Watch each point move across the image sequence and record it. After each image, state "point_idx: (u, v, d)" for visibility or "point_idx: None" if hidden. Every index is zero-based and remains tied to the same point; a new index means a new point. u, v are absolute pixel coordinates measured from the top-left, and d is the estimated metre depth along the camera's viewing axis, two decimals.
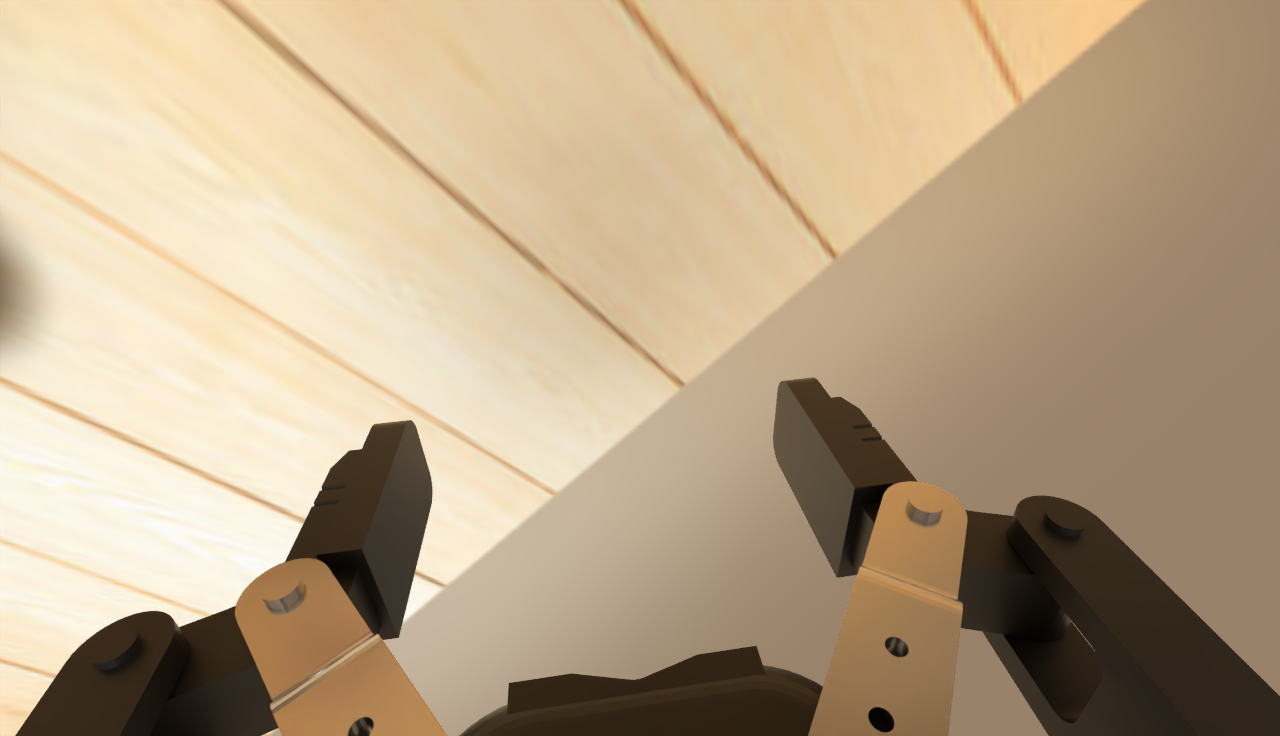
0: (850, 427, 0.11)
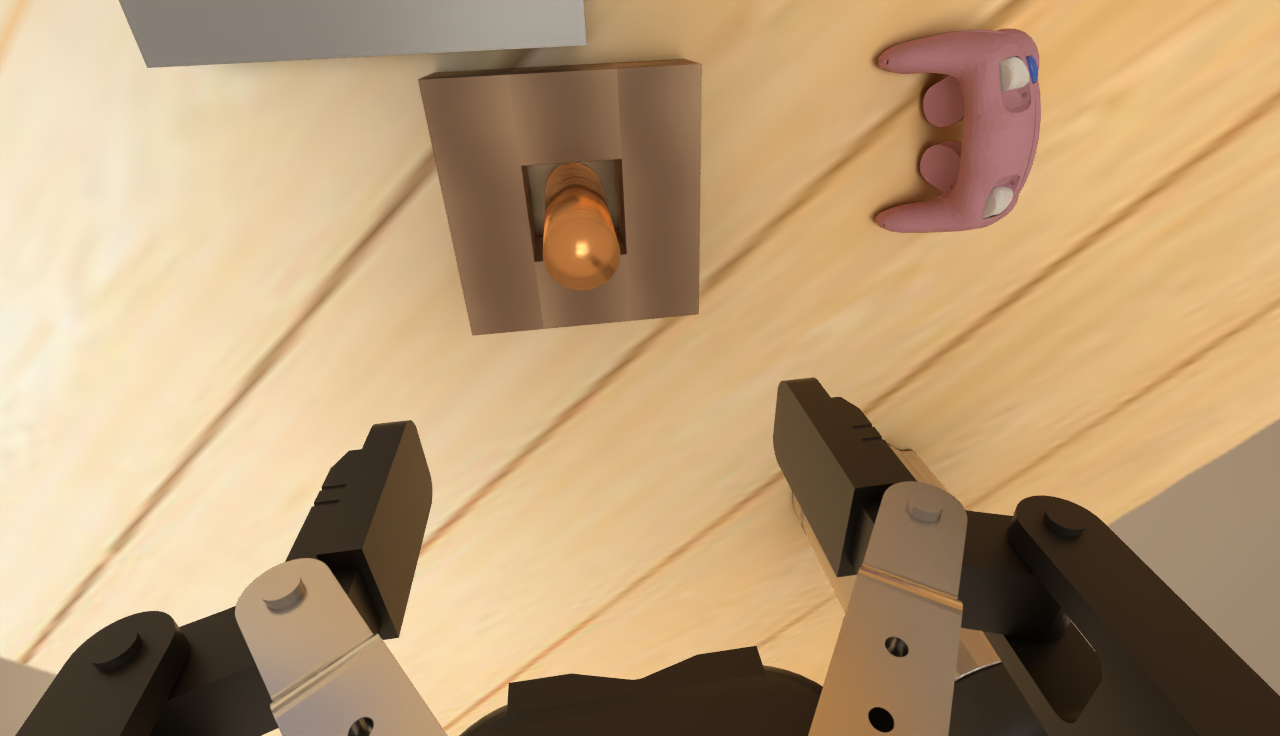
0: (850, 427, 0.11)
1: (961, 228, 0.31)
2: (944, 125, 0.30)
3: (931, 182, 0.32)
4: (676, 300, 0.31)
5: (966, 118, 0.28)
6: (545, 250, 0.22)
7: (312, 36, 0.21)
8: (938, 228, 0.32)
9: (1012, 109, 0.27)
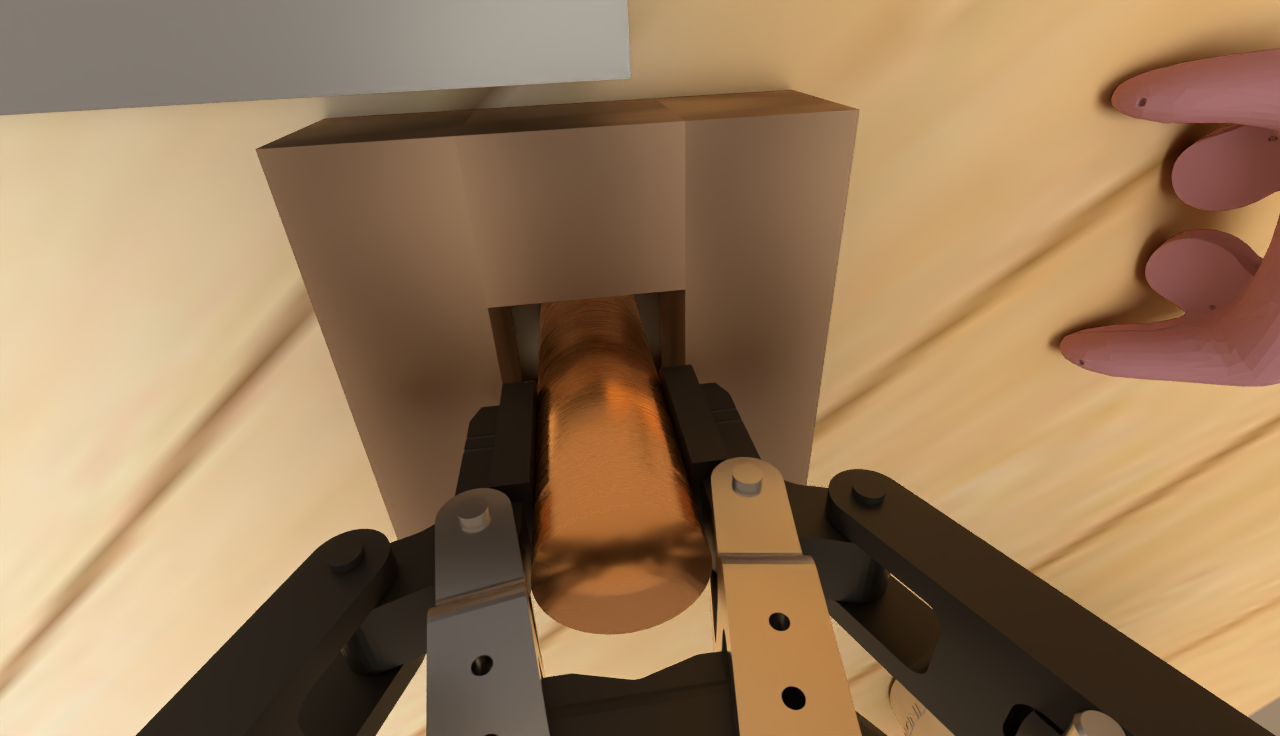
0: (707, 409, 0.12)
1: (1240, 385, 0.18)
2: (1215, 208, 0.17)
3: (1166, 295, 0.19)
4: None
5: None
6: (537, 575, 0.09)
7: None
8: (1190, 379, 0.19)
9: None
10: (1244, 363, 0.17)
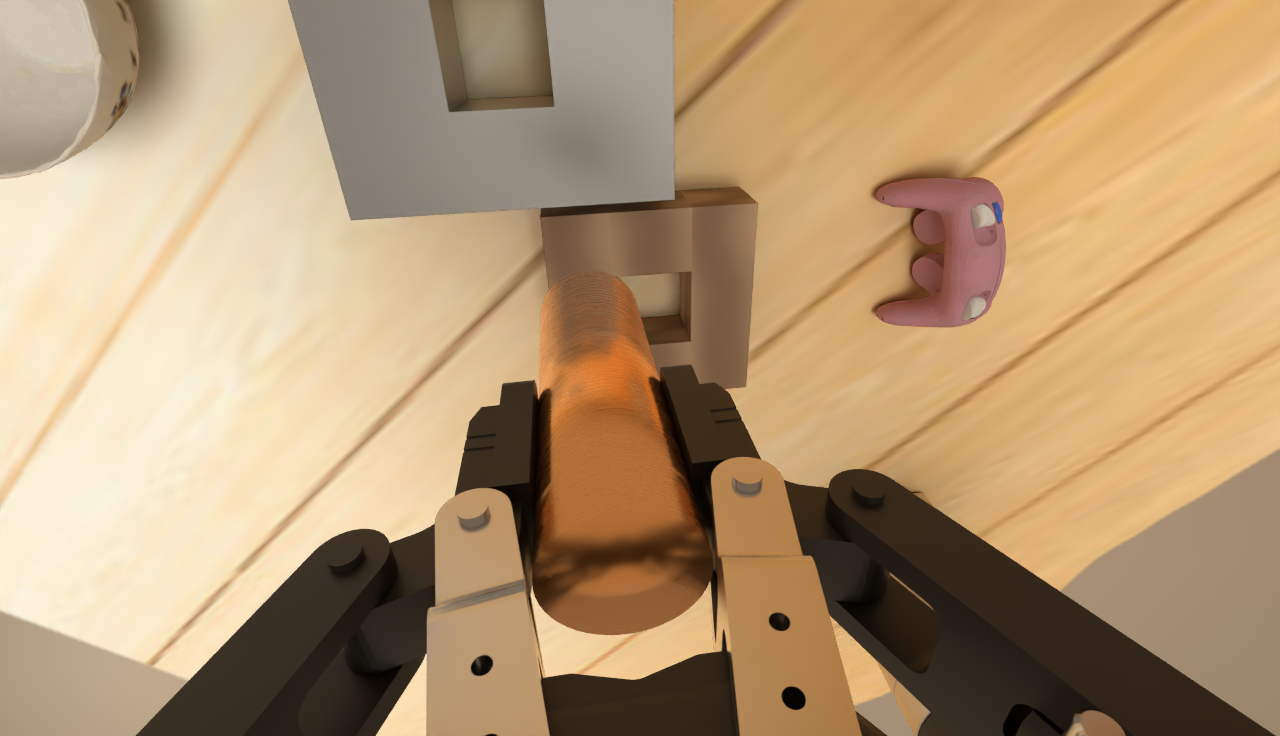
0: (707, 409, 0.12)
1: (945, 326, 0.38)
2: (930, 243, 0.37)
3: (921, 285, 0.39)
4: (728, 376, 0.38)
5: (947, 245, 0.35)
6: (538, 575, 0.09)
7: (472, 197, 0.29)
8: (927, 324, 0.38)
9: (982, 243, 0.34)
10: (943, 315, 0.37)
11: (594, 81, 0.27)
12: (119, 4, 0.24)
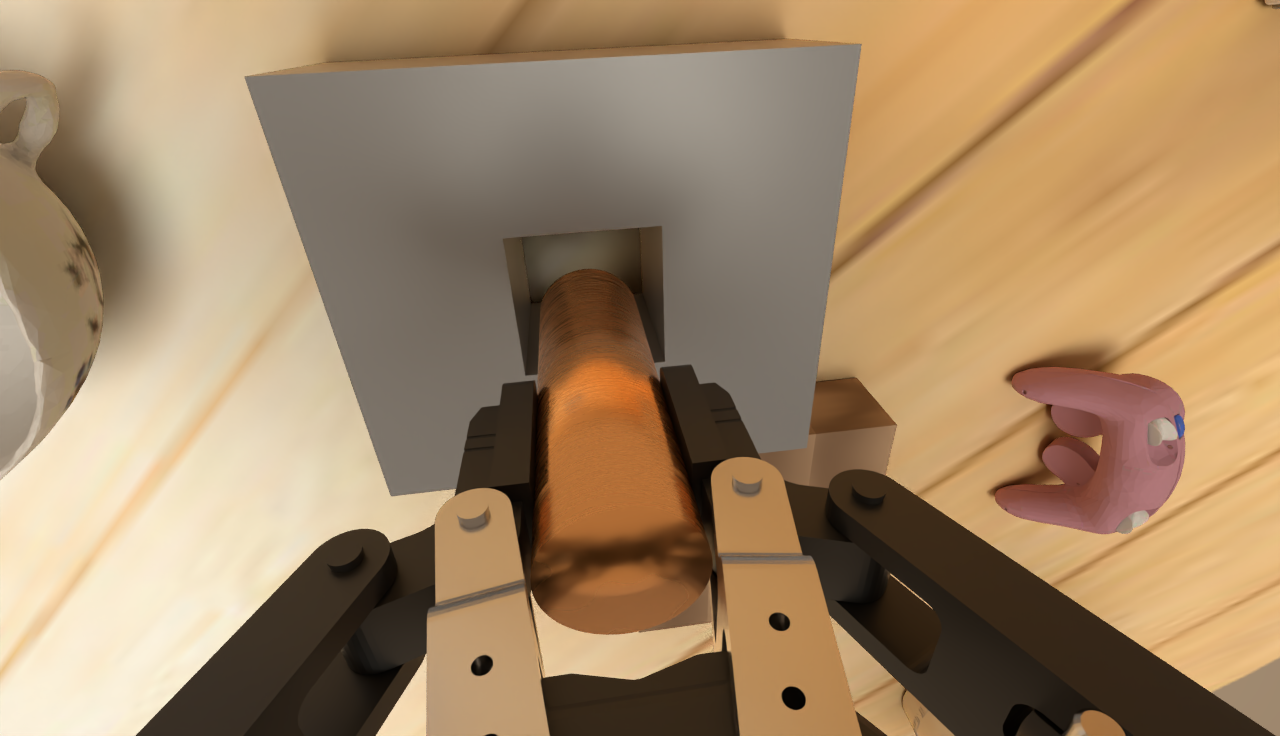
0: (707, 409, 0.12)
1: None
2: (1074, 434, 0.31)
3: (1054, 472, 0.33)
4: None
5: (1106, 453, 0.29)
6: (536, 575, 0.09)
7: None
8: (1065, 525, 0.32)
9: (1158, 461, 0.27)
10: (1090, 522, 0.31)
11: (720, 331, 0.20)
12: (70, 267, 0.17)
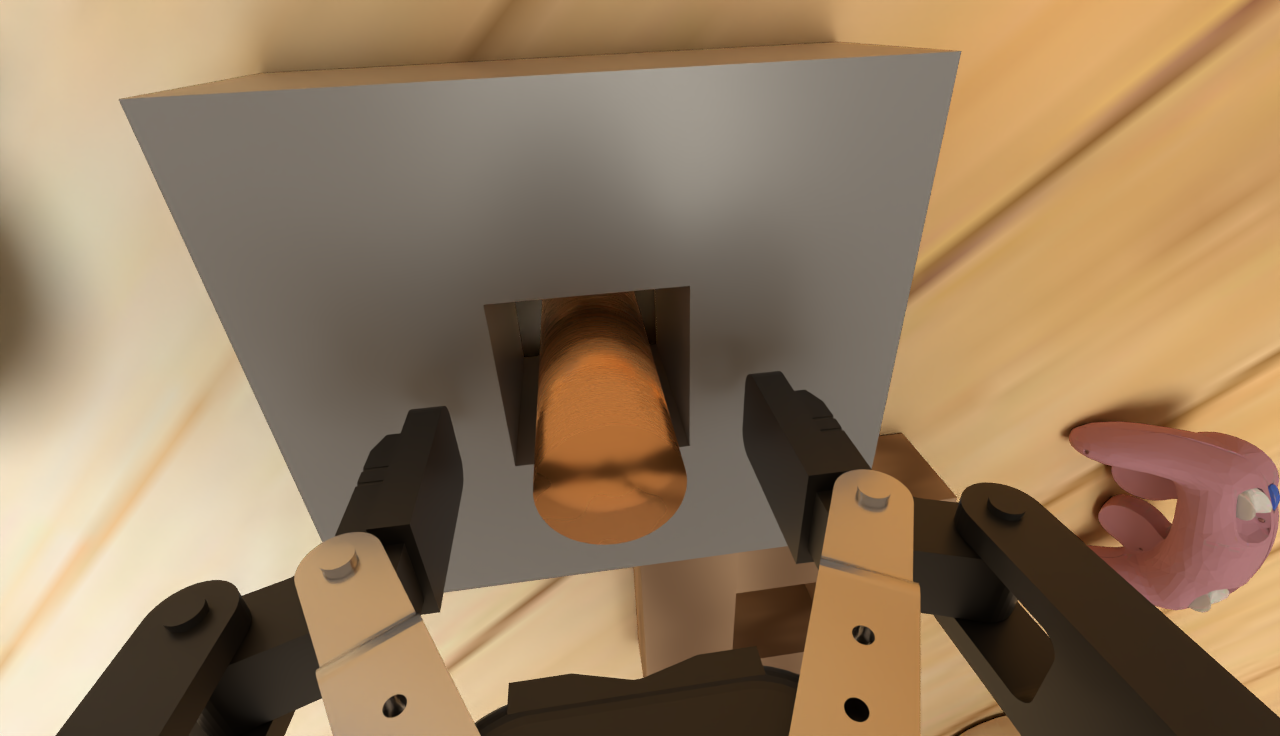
0: (810, 418, 0.11)
1: None
2: (1139, 496, 0.27)
3: (1112, 533, 0.29)
4: None
5: (1182, 523, 0.25)
6: (538, 486, 0.11)
7: (547, 562, 0.18)
8: None
9: (1247, 536, 0.23)
10: (1158, 596, 0.27)
11: None
12: None
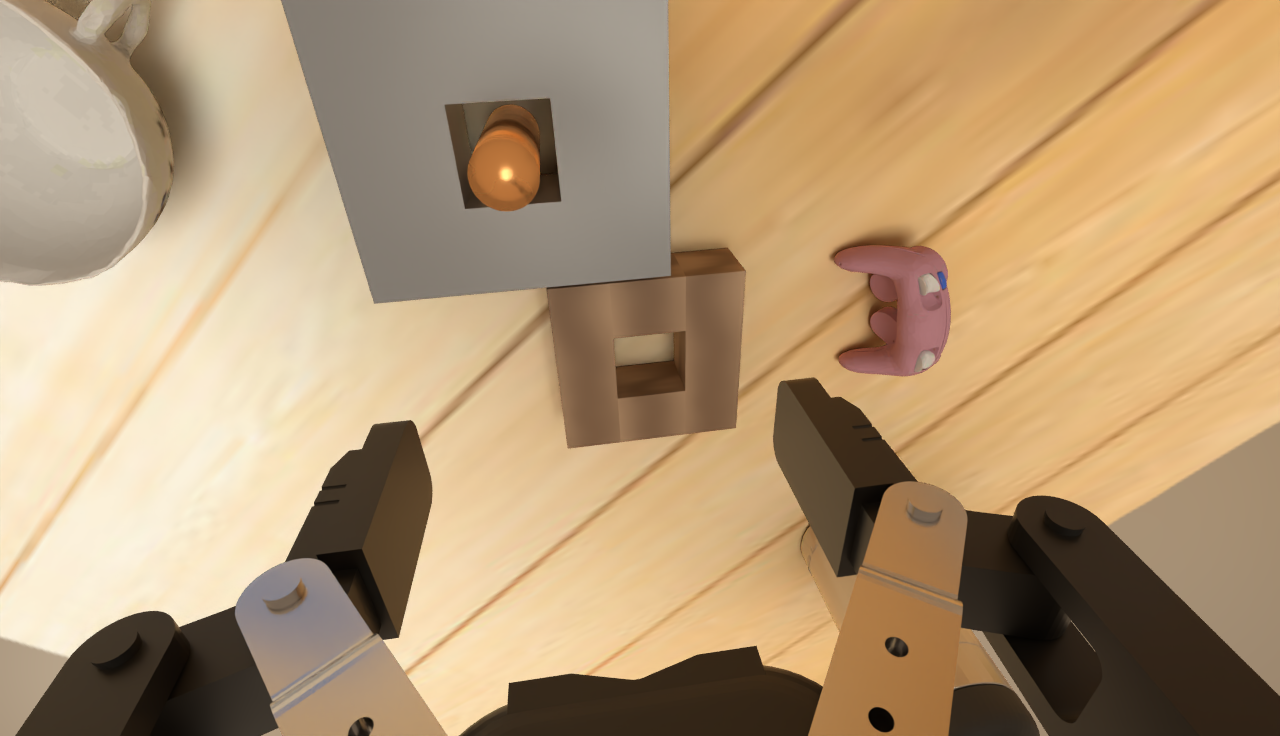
0: (850, 427, 0.11)
1: (900, 375, 0.41)
2: (885, 300, 0.41)
3: (879, 335, 0.43)
4: (720, 419, 0.41)
5: (898, 307, 0.39)
6: (469, 171, 0.24)
7: (486, 280, 0.31)
8: (884, 373, 0.42)
9: (929, 307, 0.37)
10: (898, 366, 0.41)
11: (597, 179, 0.29)
12: (158, 122, 0.26)
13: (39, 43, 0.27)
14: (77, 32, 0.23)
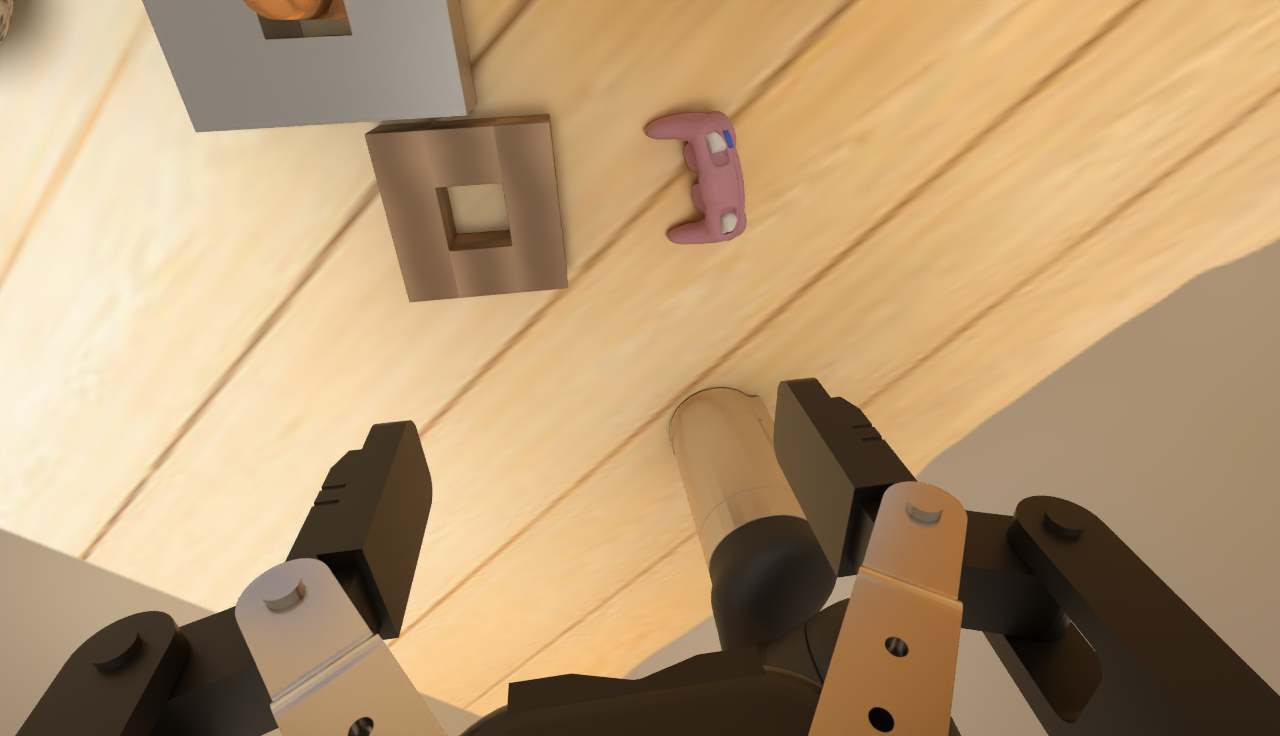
0: (850, 427, 0.11)
1: (712, 241, 0.45)
2: (696, 171, 0.45)
3: (699, 208, 0.47)
4: (551, 278, 0.45)
5: (698, 169, 0.42)
6: None
7: (296, 112, 0.35)
8: (700, 241, 0.46)
9: (718, 164, 0.41)
10: (708, 231, 0.44)
11: (382, 14, 0.33)
12: None
13: None
14: None
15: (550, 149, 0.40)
